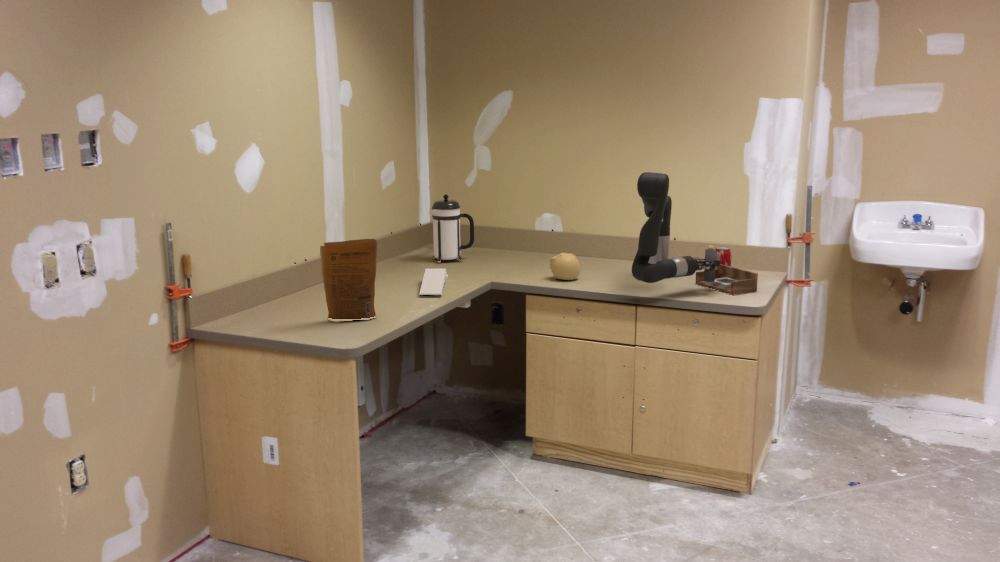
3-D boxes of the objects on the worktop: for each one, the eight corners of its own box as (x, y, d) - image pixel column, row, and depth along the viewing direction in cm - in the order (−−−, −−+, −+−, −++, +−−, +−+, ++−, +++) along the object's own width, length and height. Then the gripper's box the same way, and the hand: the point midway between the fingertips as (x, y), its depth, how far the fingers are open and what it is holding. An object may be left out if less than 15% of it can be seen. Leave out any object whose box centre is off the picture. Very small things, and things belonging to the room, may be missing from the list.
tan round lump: (570, 274, 370) (570, 249, 367) (585, 280, 359) (585, 254, 357) (546, 277, 365) (546, 251, 362) (560, 283, 354) (560, 256, 352)
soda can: (730, 278, 360) (732, 249, 357) (712, 278, 361) (714, 249, 358) (730, 275, 366) (731, 246, 364) (712, 274, 368) (713, 245, 365)
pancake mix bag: (381, 321, 301) (378, 239, 294) (323, 324, 297) (319, 242, 291) (380, 316, 307) (376, 236, 301) (323, 319, 304) (319, 238, 297)
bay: (695, 284, 350) (696, 266, 349) (718, 280, 356) (719, 263, 354) (733, 295, 332) (733, 276, 331) (756, 291, 338) (757, 273, 336)
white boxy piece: (441, 312, 335) (446, 285, 361) (445, 294, 332) (450, 269, 359) (415, 306, 334) (421, 280, 360) (419, 288, 332) (425, 263, 358)
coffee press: (452, 265, 390) (451, 197, 383) (424, 261, 398) (422, 195, 392) (475, 258, 404) (474, 193, 397) (447, 255, 413) (445, 191, 406)
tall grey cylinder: (701, 280, 341) (703, 245, 337) (709, 278, 342) (711, 244, 339) (708, 282, 337) (710, 247, 334) (716, 281, 339) (718, 246, 336)
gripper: (693, 260, 325) (729, 255, 333) (668, 253, 337) (703, 248, 345) (692, 280, 326) (728, 275, 334) (667, 272, 338) (702, 267, 346)
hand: (715, 261), depth 339 cm, fingers closed on tall grey cylinder, 4 cm apart
